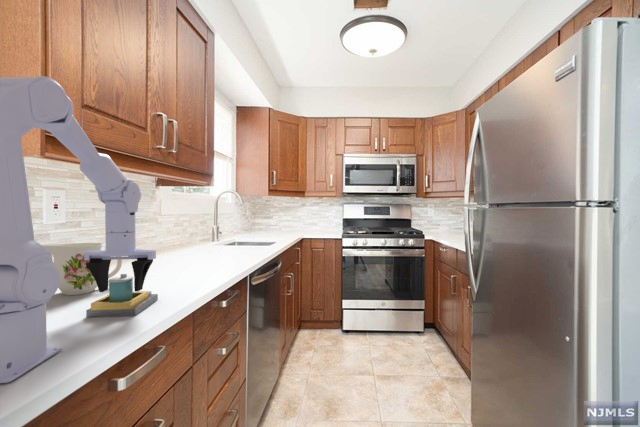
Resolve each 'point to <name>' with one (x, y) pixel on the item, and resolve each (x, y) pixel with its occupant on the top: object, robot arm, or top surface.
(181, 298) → the top surface
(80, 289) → the pitcher
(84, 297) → the top surface
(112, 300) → the spout can
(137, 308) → the gray yellow rectangular tray
